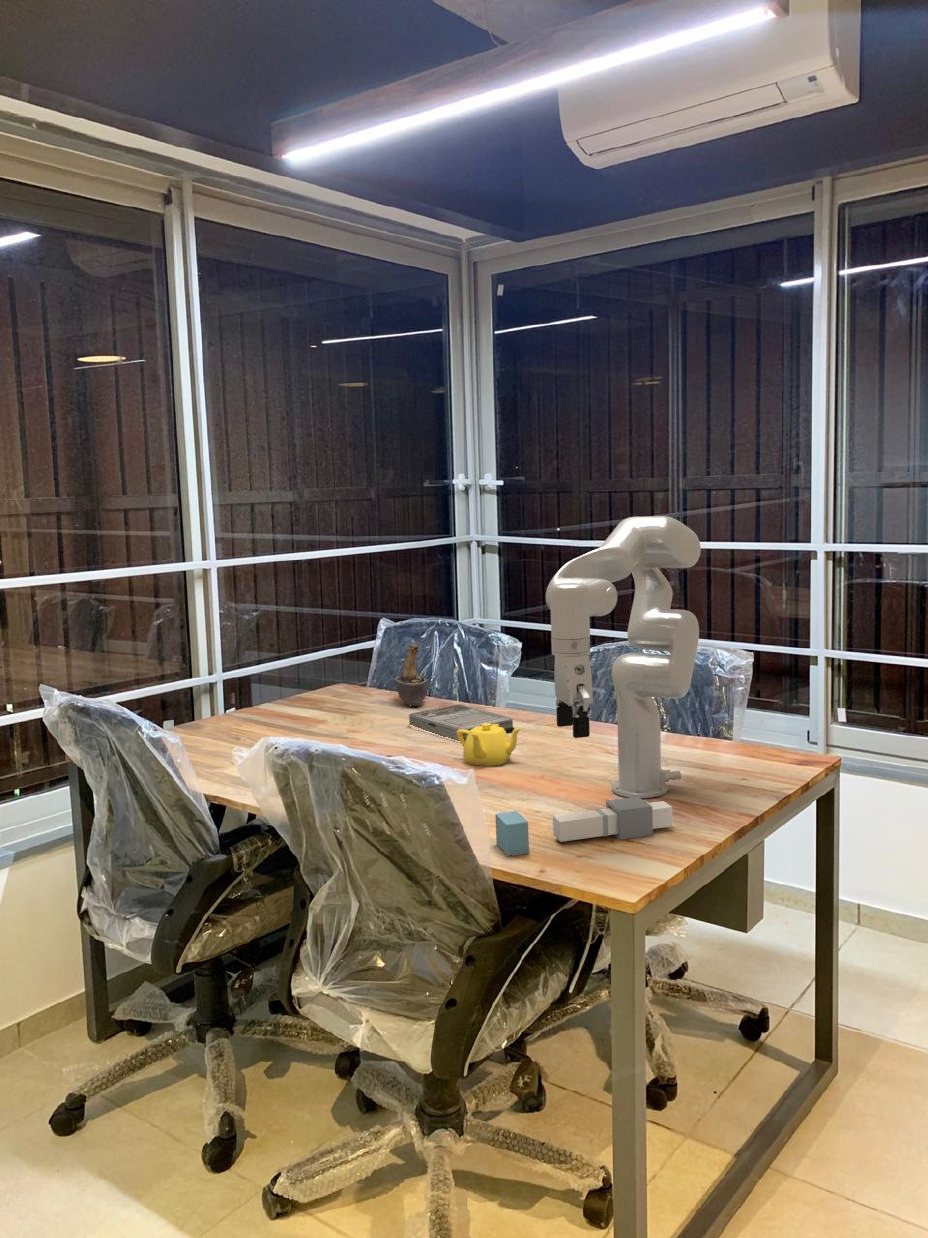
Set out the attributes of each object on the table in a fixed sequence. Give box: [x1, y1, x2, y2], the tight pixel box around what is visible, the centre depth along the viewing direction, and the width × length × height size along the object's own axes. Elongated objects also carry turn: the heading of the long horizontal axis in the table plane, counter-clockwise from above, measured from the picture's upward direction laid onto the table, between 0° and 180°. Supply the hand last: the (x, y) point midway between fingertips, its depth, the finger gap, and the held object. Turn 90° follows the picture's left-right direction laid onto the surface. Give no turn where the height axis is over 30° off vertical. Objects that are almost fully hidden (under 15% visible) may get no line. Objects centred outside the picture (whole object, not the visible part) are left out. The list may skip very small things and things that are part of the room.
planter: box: [394, 643, 428, 707], centre depth 325 cm, size 15×17×20 cm
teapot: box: [457, 723, 523, 766], centre depth 256 cm, size 14×13×10 cm
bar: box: [552, 800, 673, 843], centre depth 200 cm, size 24×4×4 cm, turn 105°
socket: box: [495, 810, 530, 856], centre depth 195 cm, size 4×7×6 cm, turn 15°
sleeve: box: [605, 797, 654, 841], centre depth 201 cm, size 7×7×6 cm
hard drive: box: [408, 703, 515, 741], centre depth 291 cm, size 18×27×4 cm
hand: (572, 731), depth 198 cm, fingers open, 9 cm apart
